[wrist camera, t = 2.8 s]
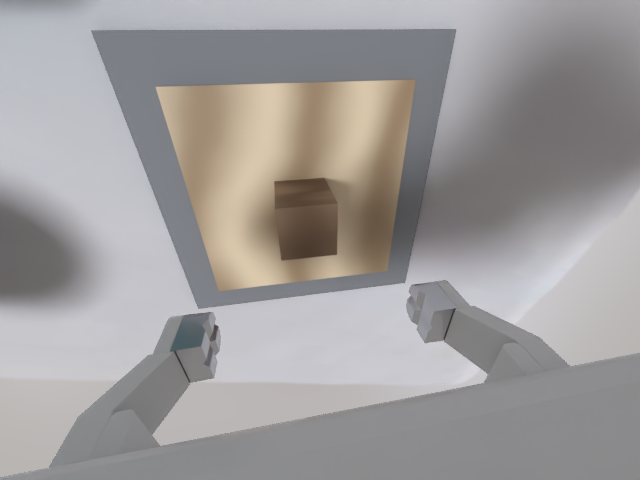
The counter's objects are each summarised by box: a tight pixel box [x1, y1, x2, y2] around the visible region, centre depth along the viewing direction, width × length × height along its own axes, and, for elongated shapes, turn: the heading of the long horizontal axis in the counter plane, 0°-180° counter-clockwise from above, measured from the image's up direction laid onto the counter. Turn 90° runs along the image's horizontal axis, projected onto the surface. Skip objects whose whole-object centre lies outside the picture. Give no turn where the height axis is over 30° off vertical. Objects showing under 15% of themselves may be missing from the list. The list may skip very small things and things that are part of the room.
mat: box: [92, 29, 456, 309], centre depth 20 cm, size 20×20×1 cm
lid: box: [156, 80, 416, 291], centre depth 17 cm, size 15×15×5 cm
